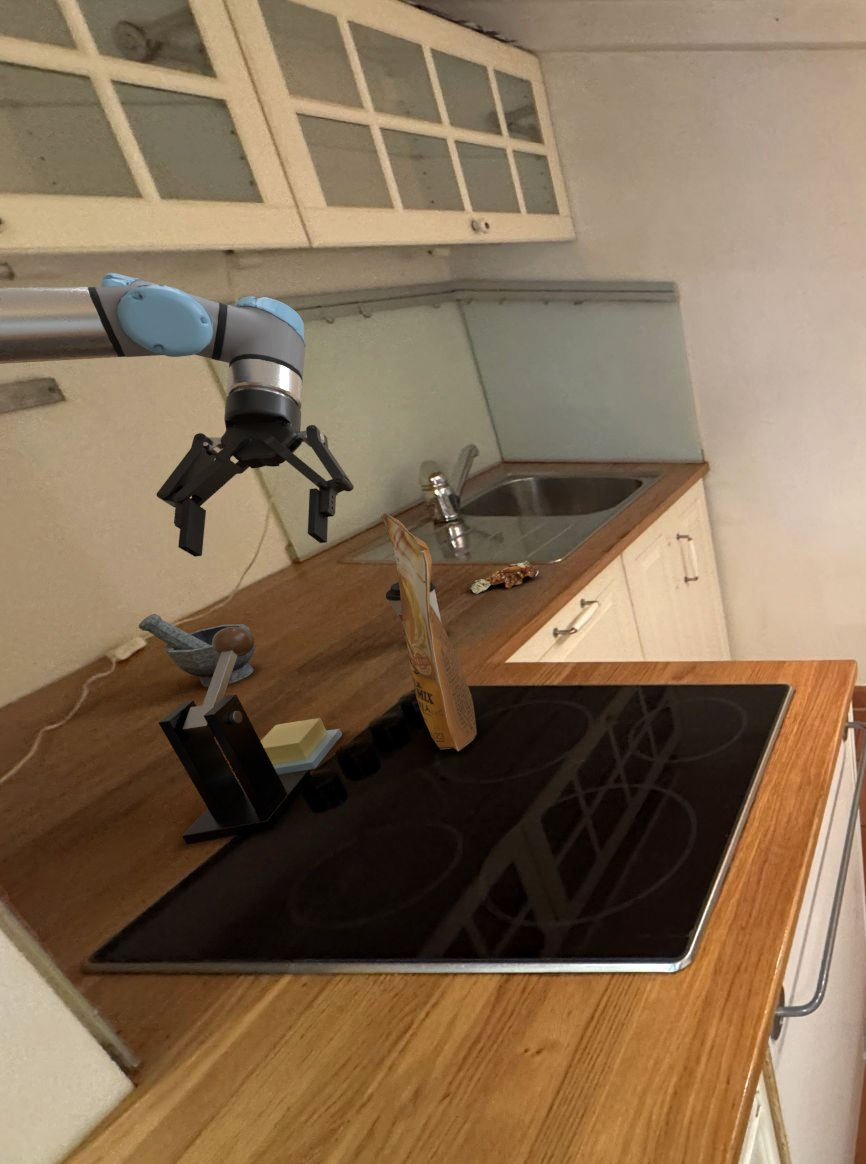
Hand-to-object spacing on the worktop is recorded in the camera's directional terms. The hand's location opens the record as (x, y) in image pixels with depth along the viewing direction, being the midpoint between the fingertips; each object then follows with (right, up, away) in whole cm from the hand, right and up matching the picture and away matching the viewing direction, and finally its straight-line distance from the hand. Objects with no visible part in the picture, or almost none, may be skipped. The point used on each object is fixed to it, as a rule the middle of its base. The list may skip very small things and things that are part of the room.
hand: (254, 545), depth 96 cm
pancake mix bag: (+20, -24, +8) cm, 32 cm away
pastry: (-1, -2, +55) cm, 55 cm away
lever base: (+7, -32, -7) cm, 33 cm away
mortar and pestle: (-26, -19, +22) cm, 39 cm away
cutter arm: (+5, -17, -8) cm, 20 cm away
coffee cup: (-1, -13, +33) cm, 35 cm away
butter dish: (+3, -27, +2) cm, 27 cm away
